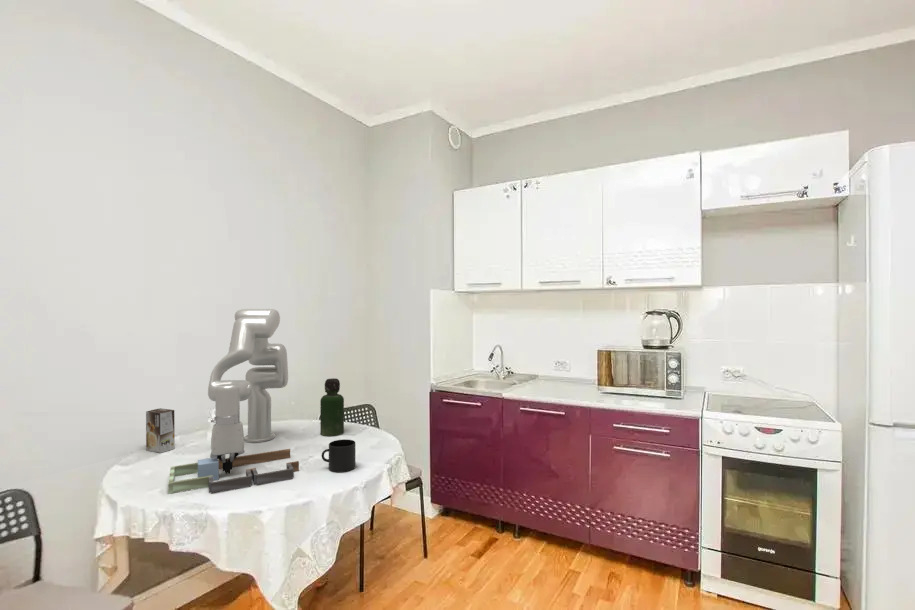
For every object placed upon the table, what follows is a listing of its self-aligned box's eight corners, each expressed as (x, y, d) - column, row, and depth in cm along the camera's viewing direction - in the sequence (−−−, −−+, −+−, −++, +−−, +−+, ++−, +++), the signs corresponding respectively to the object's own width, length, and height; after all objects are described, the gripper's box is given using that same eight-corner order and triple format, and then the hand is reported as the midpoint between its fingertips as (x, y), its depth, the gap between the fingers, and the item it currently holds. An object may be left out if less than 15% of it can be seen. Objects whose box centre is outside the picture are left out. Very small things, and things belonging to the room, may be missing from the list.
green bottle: (333, 429, 216) (333, 376, 216) (348, 432, 210) (348, 378, 210) (315, 434, 208) (315, 379, 208) (330, 438, 202) (330, 381, 202)
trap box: (170, 476, 157) (170, 466, 157) (289, 456, 176) (289, 448, 176) (167, 501, 136) (167, 491, 136) (302, 476, 156) (302, 467, 156)
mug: (324, 464, 168) (324, 439, 168) (357, 463, 170) (357, 438, 170) (318, 473, 159) (318, 447, 159) (353, 472, 160) (353, 446, 160)
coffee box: (175, 448, 187) (175, 409, 187) (160, 453, 181) (160, 413, 181) (160, 446, 190) (160, 407, 190) (144, 450, 184) (145, 411, 184)
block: (197, 477, 155) (197, 459, 155) (217, 474, 158) (217, 456, 158) (198, 483, 150) (198, 465, 150) (218, 479, 153) (218, 461, 153)
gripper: (203, 425, 151) (203, 480, 151) (252, 419, 158) (252, 472, 158) (202, 420, 157) (202, 473, 157) (249, 415, 165) (249, 465, 165)
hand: (227, 472), depth 158 cm, fingers closed
